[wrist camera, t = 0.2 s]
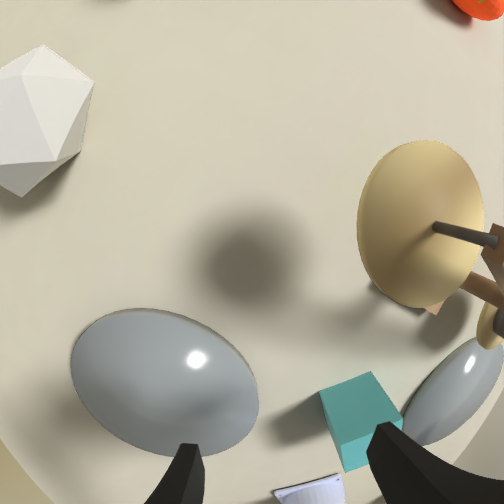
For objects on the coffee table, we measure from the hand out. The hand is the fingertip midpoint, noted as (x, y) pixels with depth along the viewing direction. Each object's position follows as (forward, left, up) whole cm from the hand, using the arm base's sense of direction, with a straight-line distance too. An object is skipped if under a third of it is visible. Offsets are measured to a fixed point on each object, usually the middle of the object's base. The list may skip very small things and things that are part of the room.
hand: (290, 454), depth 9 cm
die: (+18, +9, -10) cm, 23 cm away
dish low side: (-17, -18, -10) cm, 26 cm away
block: (-9, -5, -10) cm, 14 cm away
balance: (+1, -13, -10) cm, 16 cm away
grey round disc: (-3, +9, -10) cm, 14 cm away
